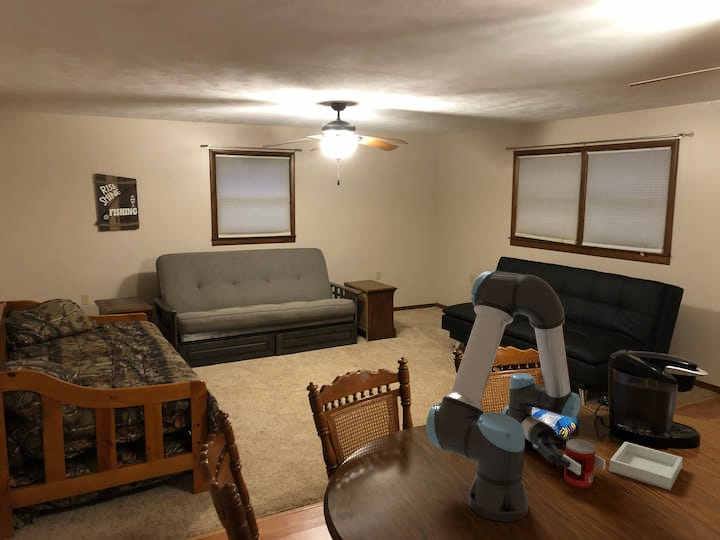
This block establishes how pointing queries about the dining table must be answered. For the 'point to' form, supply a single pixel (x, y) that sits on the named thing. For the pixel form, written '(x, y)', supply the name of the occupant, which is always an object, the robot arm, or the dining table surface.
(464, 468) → the dining table surface
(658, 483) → the tray
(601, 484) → the dining table surface
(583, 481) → the canned food
